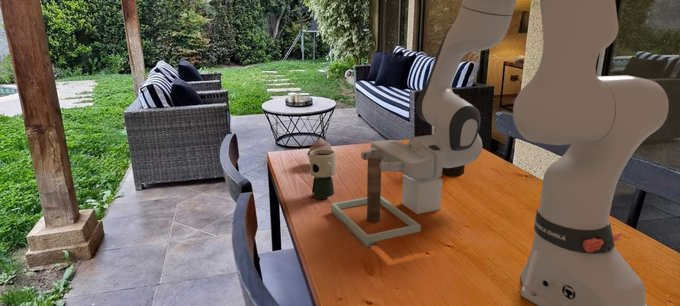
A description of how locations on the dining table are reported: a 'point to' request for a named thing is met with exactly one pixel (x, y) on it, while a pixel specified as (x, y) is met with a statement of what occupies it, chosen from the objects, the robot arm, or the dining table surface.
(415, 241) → the dining table surface
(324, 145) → the cupcake
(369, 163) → the walnut pin
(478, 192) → the dining table surface
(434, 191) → the white square sleeve
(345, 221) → the sage tray
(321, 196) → the character mug
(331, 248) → the dining table surface
